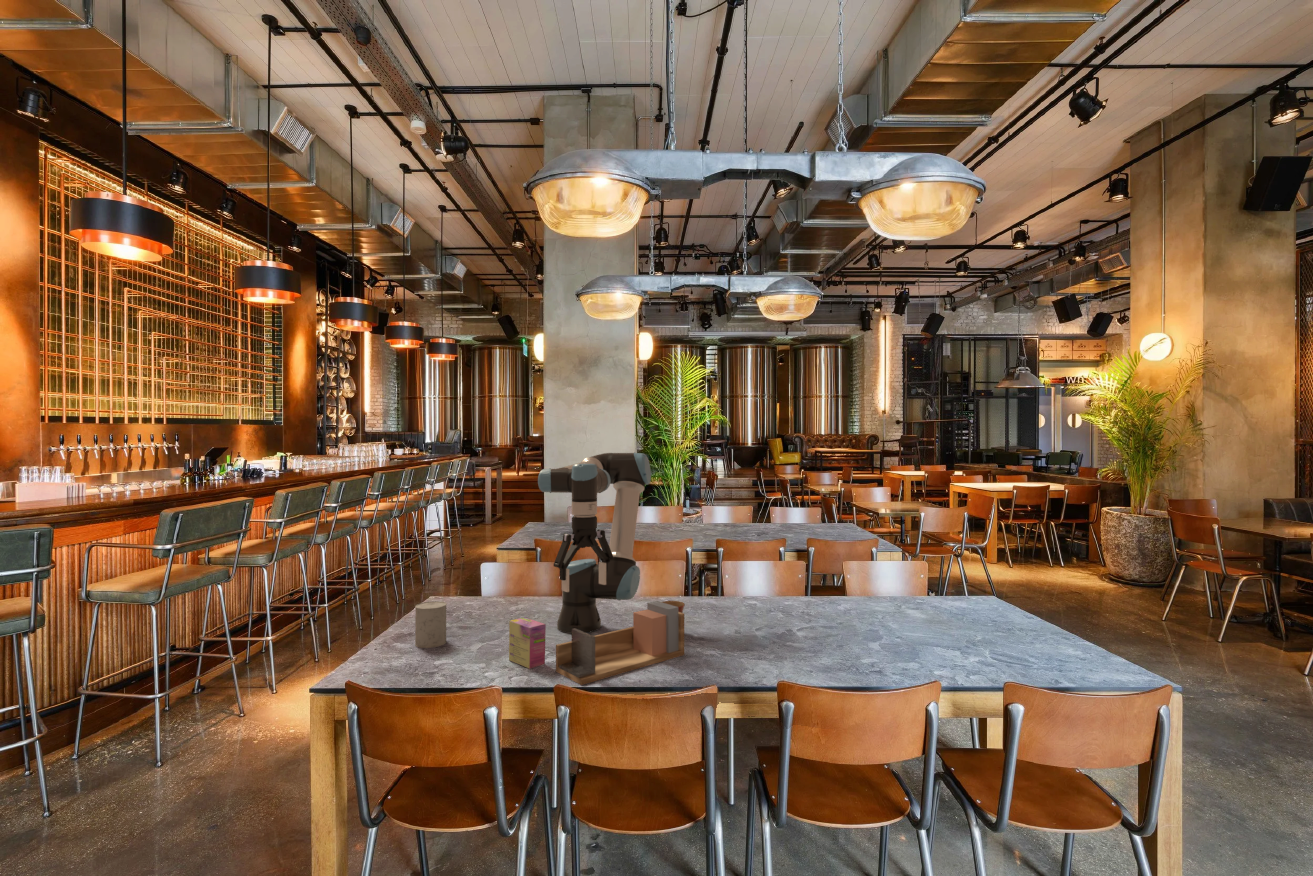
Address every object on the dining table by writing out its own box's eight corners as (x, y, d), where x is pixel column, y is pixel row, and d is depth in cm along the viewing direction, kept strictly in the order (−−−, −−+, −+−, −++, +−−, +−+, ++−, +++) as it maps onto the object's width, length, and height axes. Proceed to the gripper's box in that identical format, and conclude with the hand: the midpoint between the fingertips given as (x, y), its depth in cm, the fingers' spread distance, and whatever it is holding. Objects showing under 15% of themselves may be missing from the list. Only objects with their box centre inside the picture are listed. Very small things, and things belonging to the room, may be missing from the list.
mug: (661, 630, 215) (661, 600, 215) (686, 631, 213) (686, 601, 213) (654, 640, 203) (654, 609, 203) (680, 642, 201) (680, 610, 201)
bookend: (559, 668, 173) (559, 631, 173) (575, 663, 177) (575, 628, 177) (579, 678, 166) (579, 640, 166) (595, 673, 169) (595, 636, 169)
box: (545, 664, 181) (545, 623, 181) (529, 669, 177) (529, 627, 177) (524, 656, 188) (524, 616, 188) (508, 660, 184) (508, 620, 184)
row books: (633, 648, 190) (633, 605, 190) (657, 642, 196) (657, 600, 196) (654, 657, 182) (654, 612, 183) (678, 650, 189) (678, 607, 189)
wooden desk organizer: (555, 671, 175) (555, 626, 175) (656, 644, 199) (656, 605, 199) (581, 685, 165) (581, 637, 165) (684, 655, 189) (684, 613, 189)
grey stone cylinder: (453, 641, 203) (453, 603, 203) (430, 649, 194) (431, 610, 194) (430, 637, 207) (430, 600, 207) (408, 645, 198) (408, 606, 198)
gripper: (556, 520, 174) (556, 596, 173) (624, 513, 191) (624, 583, 190) (541, 518, 179) (541, 592, 179) (609, 511, 196) (609, 579, 196)
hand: (584, 587), depth 185 cm, fingers open, 13 cm apart
